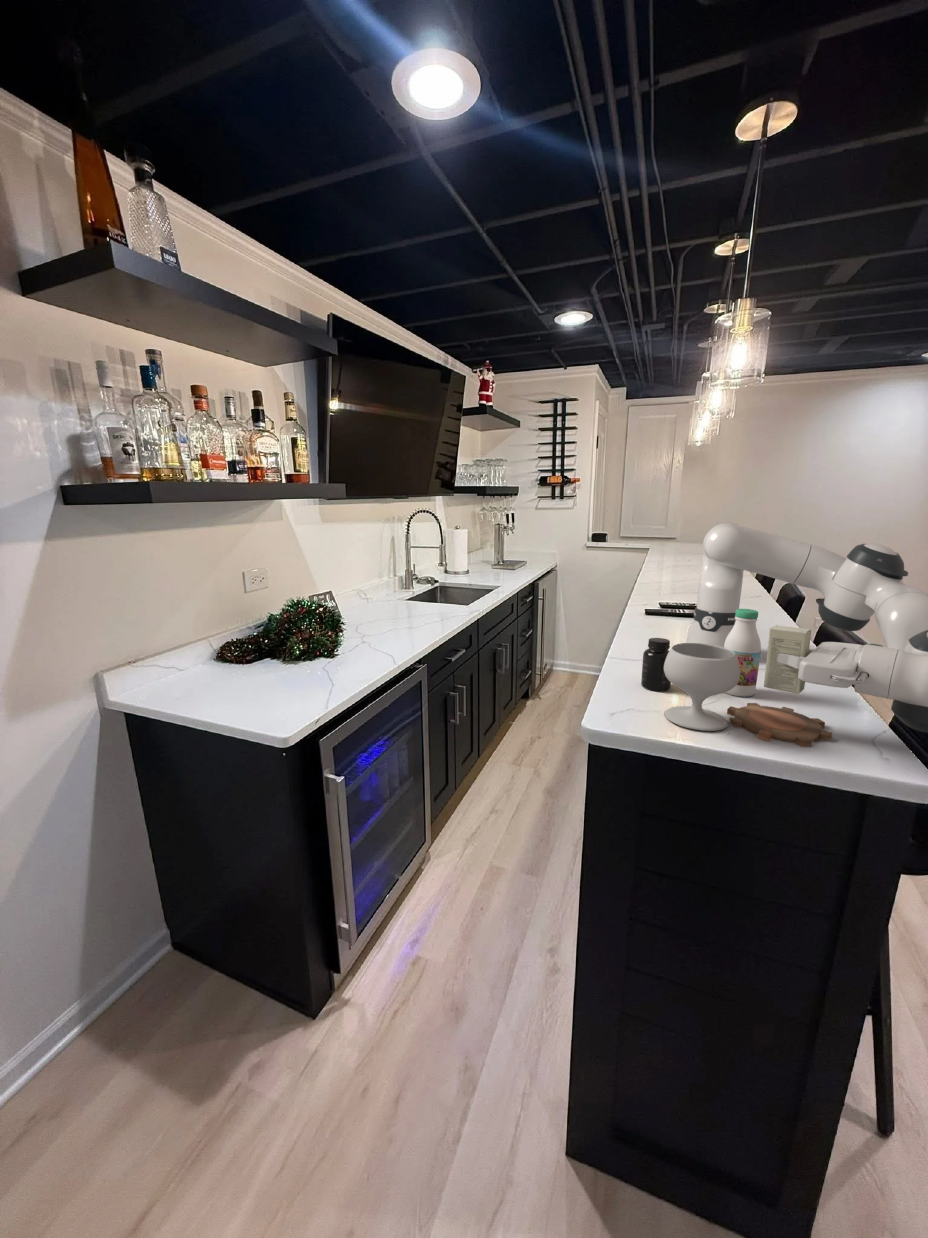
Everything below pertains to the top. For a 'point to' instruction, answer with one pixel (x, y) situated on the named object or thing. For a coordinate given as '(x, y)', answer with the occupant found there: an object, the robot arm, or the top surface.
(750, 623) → the milk bottle
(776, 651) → the skincare box
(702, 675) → the chalice
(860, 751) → the top surface
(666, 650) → the supplement bottle
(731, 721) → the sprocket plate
